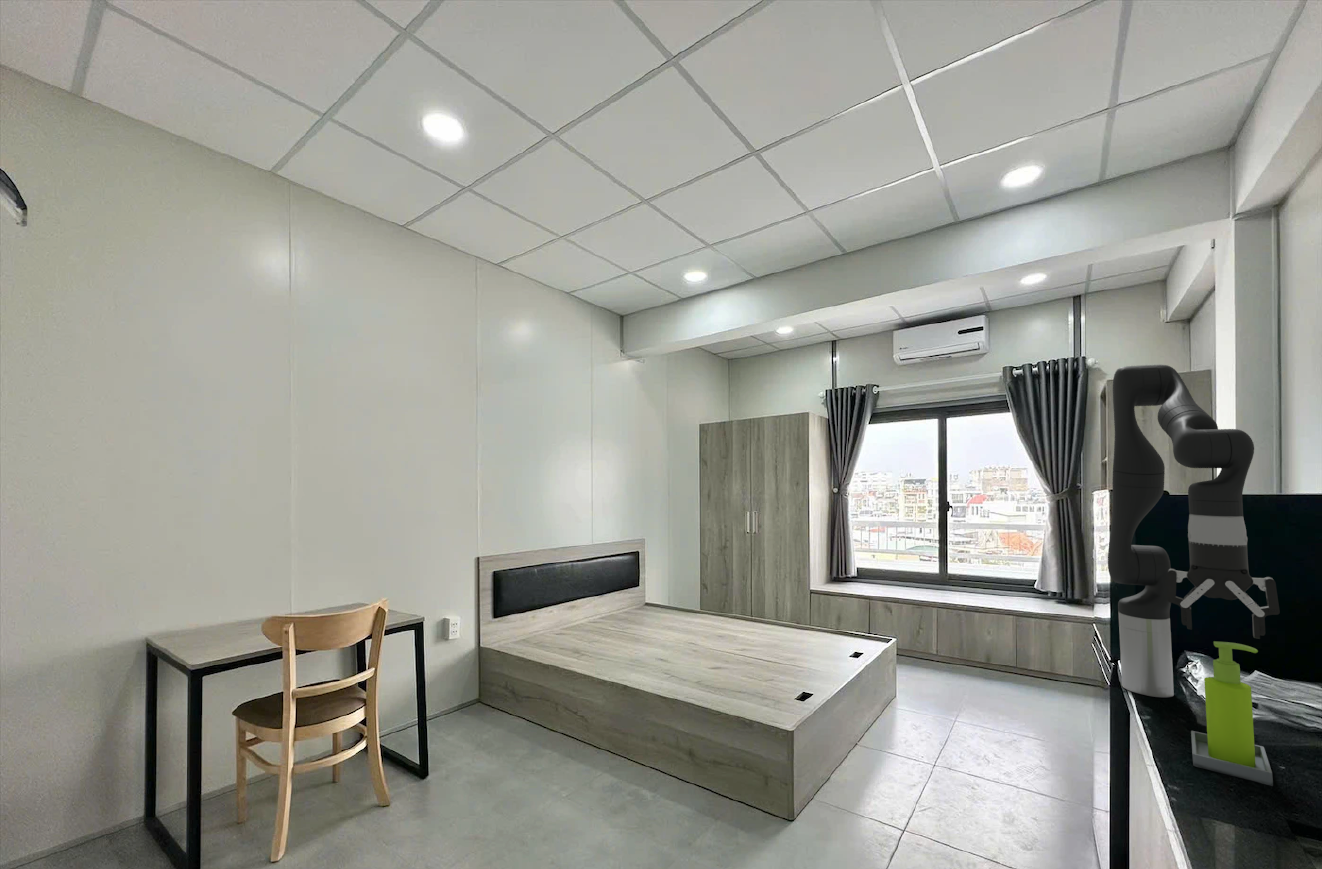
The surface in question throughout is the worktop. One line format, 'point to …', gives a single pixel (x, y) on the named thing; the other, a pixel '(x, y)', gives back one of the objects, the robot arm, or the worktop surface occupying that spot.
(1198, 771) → the worktop surface
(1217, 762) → the tray
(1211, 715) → the soap dispenser
